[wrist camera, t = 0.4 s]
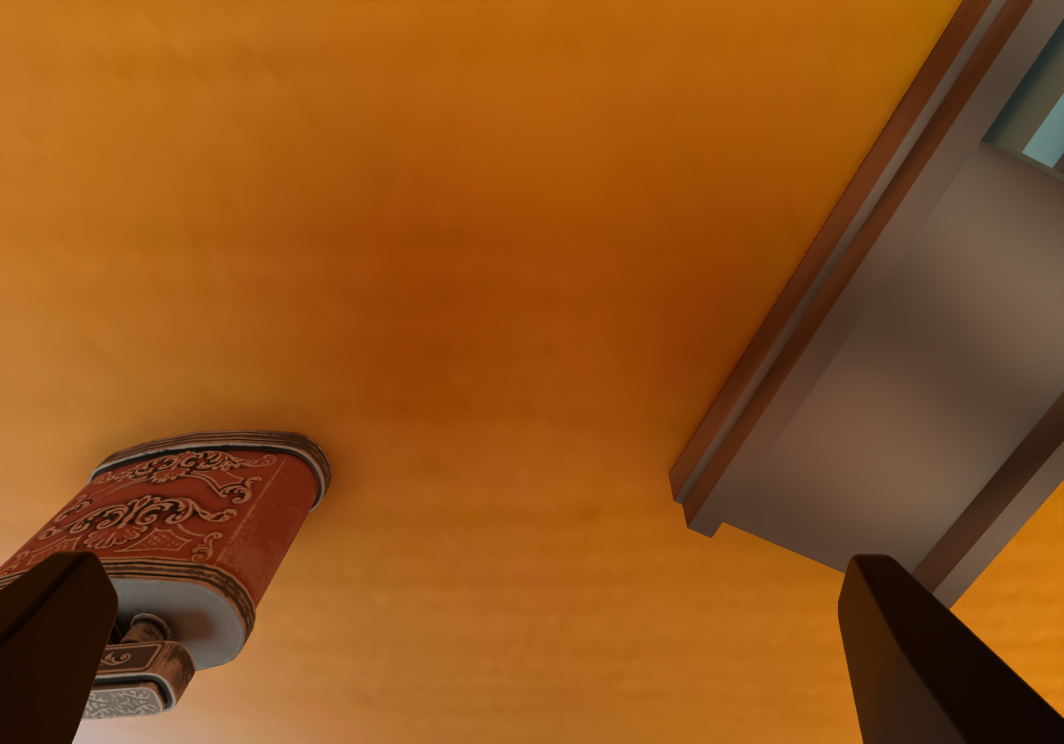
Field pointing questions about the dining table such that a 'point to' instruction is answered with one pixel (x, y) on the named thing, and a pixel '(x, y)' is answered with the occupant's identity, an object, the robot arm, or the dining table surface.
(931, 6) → the dining table surface
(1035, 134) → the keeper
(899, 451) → the rail
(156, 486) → the lighter
